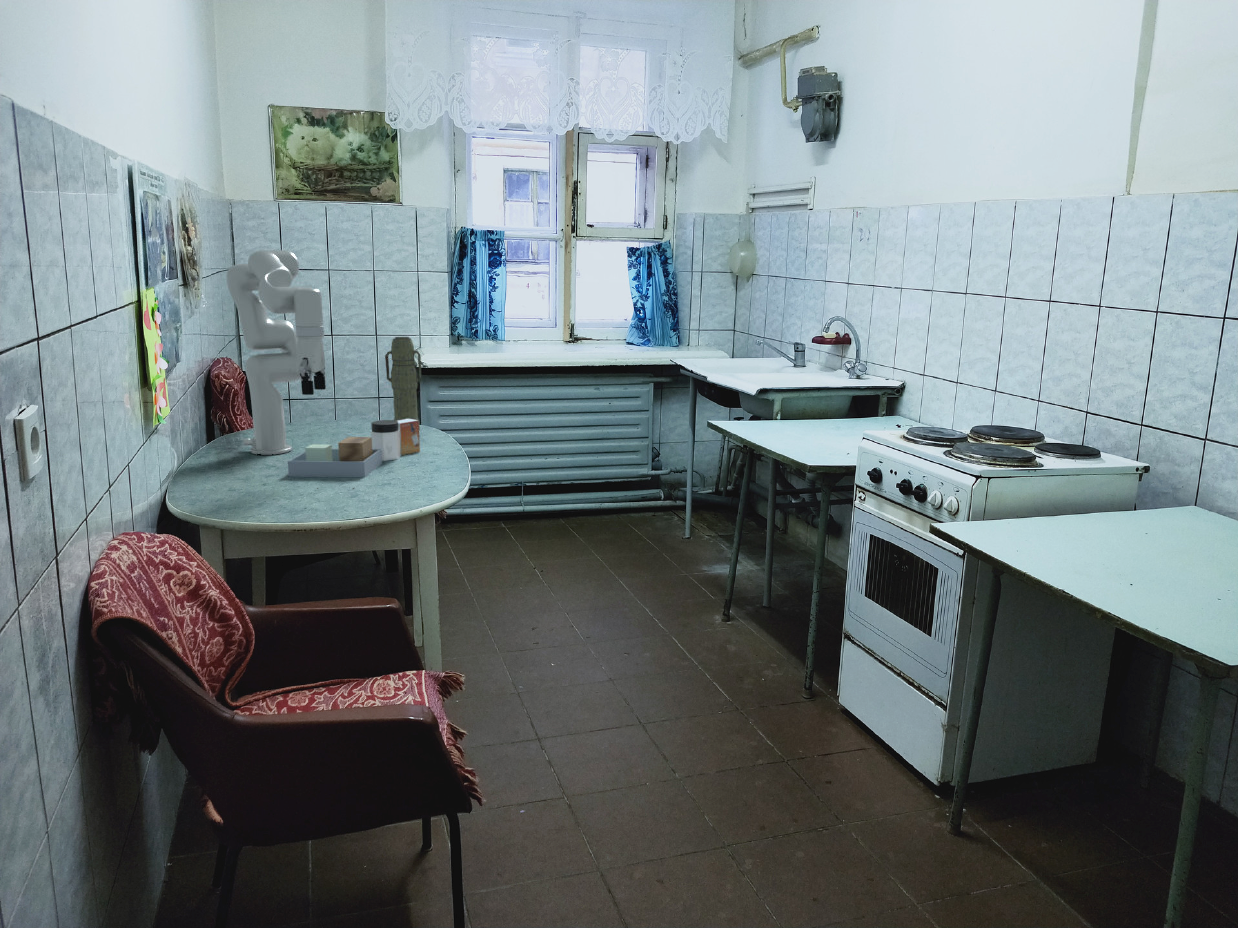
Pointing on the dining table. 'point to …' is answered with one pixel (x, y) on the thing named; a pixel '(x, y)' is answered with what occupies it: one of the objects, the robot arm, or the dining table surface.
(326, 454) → the pale green block
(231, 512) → the dining table surface
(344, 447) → the walnut block
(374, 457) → the box
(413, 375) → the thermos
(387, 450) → the jar
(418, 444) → the small box
